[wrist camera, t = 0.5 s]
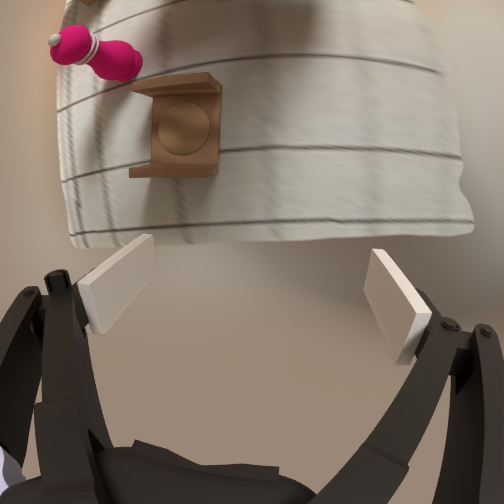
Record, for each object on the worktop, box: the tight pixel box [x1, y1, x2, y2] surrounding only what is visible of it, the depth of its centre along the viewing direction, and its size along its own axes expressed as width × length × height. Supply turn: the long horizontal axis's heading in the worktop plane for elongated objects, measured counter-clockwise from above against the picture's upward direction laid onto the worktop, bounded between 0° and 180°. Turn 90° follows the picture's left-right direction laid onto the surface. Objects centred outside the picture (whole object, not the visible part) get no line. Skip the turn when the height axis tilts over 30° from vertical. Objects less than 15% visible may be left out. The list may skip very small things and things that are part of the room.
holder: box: [129, 72, 222, 178], centre depth 35 cm, size 14×11×8 cm
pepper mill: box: [48, 25, 143, 81], centre depth 26 cm, size 7×7×20 cm
